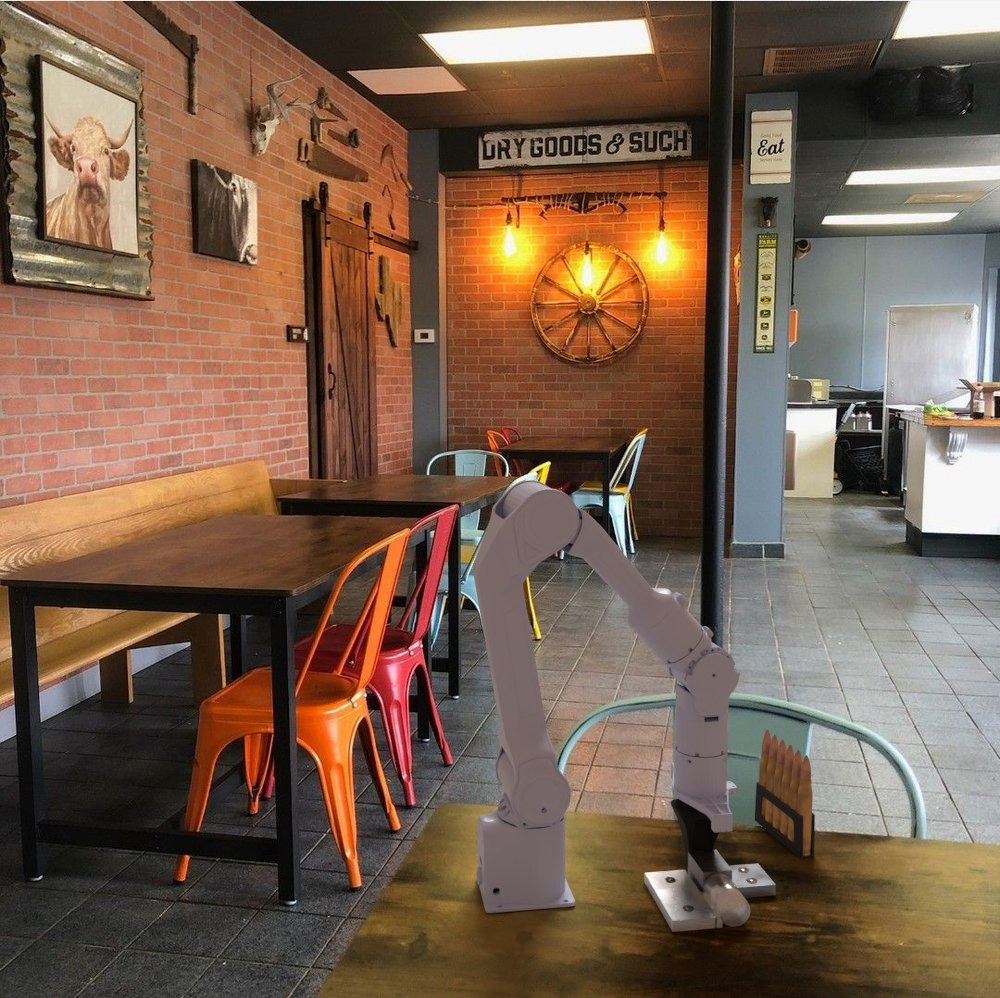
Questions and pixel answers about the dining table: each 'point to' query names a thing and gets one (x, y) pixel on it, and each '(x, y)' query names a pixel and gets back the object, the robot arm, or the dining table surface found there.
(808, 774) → the ammunition clip
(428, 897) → the dining table surface
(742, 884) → the loose leaf
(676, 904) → the fixed leaf
